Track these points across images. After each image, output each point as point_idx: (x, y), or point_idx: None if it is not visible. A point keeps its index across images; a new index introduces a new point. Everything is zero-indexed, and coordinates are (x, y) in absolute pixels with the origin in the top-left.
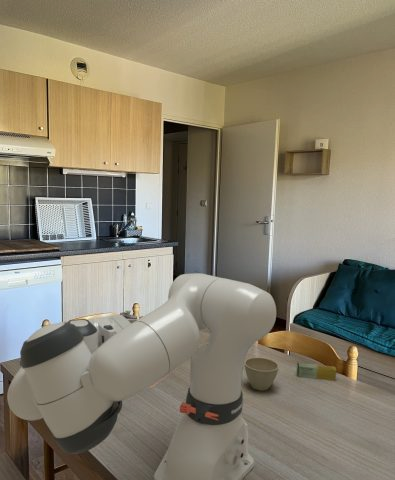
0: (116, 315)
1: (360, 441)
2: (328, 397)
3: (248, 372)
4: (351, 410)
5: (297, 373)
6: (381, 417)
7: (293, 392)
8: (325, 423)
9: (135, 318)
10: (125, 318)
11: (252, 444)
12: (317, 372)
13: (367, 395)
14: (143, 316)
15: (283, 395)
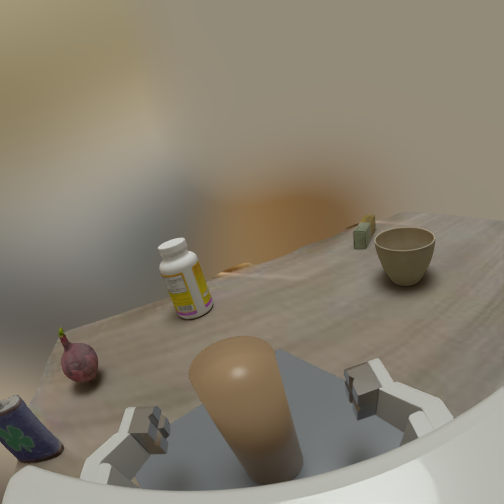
0: (15, 499)
1: (496, 228)
2: None
3: (423, 258)
4: (443, 226)
5: (365, 244)
6: (448, 217)
7: None
8: (479, 240)
9: (19, 402)
10: (95, 487)
11: None
12: (370, 228)
13: (407, 218)
14: (198, 363)
15: None
